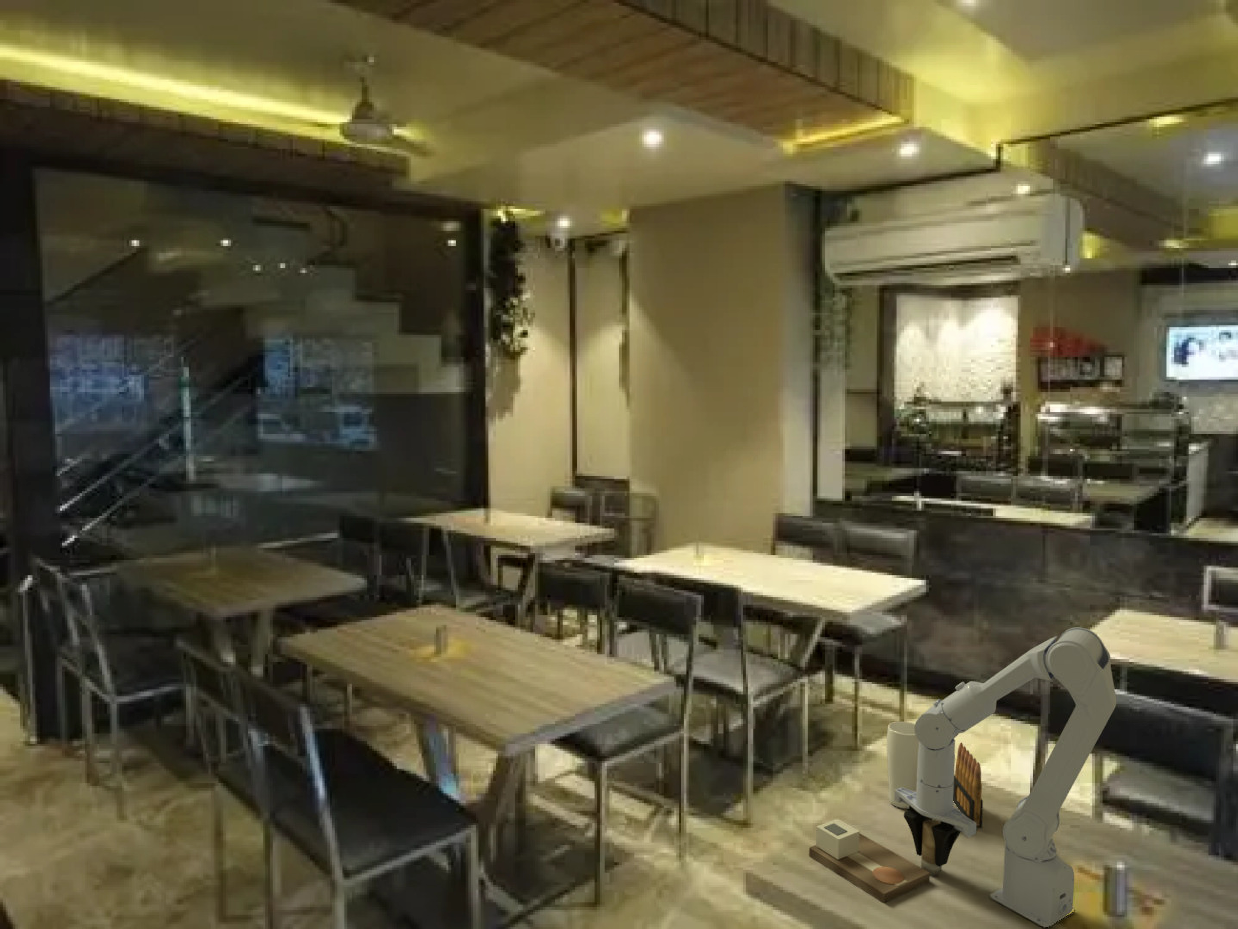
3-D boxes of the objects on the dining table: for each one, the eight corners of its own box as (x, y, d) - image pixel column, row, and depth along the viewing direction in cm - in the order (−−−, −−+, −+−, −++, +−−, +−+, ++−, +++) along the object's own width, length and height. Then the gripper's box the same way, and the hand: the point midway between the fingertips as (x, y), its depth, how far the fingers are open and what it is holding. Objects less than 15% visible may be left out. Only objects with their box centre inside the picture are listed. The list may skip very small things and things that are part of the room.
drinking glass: (914, 815, 165) (917, 738, 163) (879, 804, 169) (882, 729, 167) (926, 802, 170) (929, 726, 169) (891, 791, 174) (894, 718, 173)
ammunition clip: (951, 800, 171) (954, 740, 170) (961, 800, 171) (964, 740, 170) (971, 828, 160) (975, 764, 159) (982, 828, 160) (985, 764, 159)
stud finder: (858, 851, 149) (859, 830, 149) (838, 859, 146) (838, 838, 146) (836, 838, 153) (837, 818, 153) (815, 846, 150) (816, 825, 150)
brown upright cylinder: (945, 872, 146) (947, 826, 145) (933, 878, 144) (935, 831, 143) (929, 863, 149) (931, 817, 148) (916, 868, 147) (918, 822, 146)
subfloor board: (929, 881, 143) (929, 872, 143) (883, 903, 137) (884, 892, 137) (853, 838, 156) (854, 829, 156) (809, 856, 150) (809, 846, 150)
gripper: (989, 791, 141) (985, 872, 142) (914, 758, 153) (911, 833, 154) (961, 802, 137) (957, 885, 138) (887, 767, 149) (884, 844, 151)
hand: (931, 858), depth 146 cm, fingers closed on brown upright cylinder, 3 cm apart
